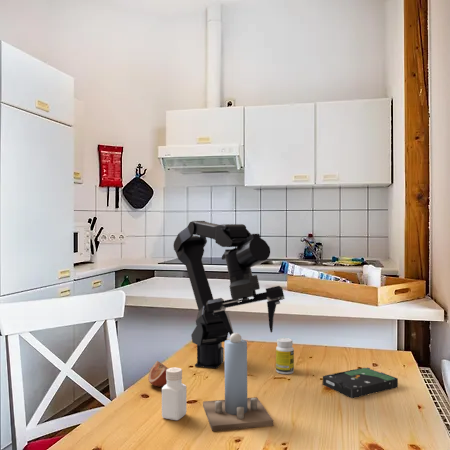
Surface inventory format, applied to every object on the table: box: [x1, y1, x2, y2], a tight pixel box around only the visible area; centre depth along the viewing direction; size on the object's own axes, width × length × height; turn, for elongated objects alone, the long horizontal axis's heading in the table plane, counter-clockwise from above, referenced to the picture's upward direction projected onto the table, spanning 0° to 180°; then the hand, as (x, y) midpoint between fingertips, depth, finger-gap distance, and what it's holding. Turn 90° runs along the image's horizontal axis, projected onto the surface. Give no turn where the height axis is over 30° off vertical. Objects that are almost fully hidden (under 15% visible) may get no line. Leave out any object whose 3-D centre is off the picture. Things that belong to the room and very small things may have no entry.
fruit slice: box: [147, 360, 170, 388], centre depth 111 cm, size 8×7×5 cm
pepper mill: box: [223, 332, 248, 415], centre depth 93 cm, size 5×5×16 cm
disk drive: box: [322, 367, 399, 399], centre depth 110 cm, size 10×3×15 cm
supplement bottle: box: [275, 337, 295, 375], centre depth 121 cm, size 5×5×8 cm
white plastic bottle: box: [161, 366, 187, 421], centre depth 93 cm, size 4×4×10 cm
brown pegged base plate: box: [202, 396, 274, 432], centre depth 93 cm, size 12×12×3 cm
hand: (252, 336), depth 109 cm, fingers open, 9 cm apart
